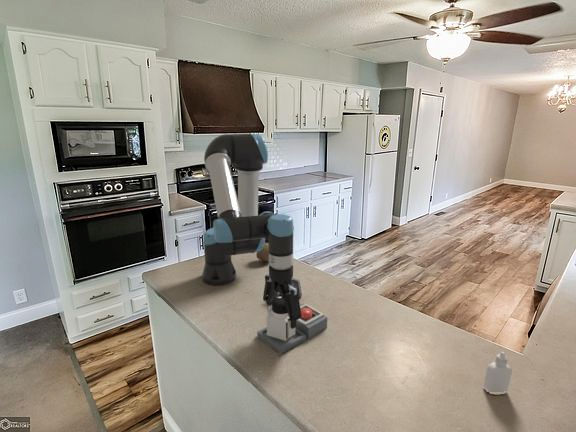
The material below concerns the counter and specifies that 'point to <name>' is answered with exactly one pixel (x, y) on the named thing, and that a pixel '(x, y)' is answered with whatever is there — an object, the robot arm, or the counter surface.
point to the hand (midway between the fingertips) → (281, 328)
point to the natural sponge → (263, 253)
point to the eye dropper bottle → (498, 374)
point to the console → (297, 331)
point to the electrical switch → (295, 284)
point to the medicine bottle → (278, 320)
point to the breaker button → (306, 314)
